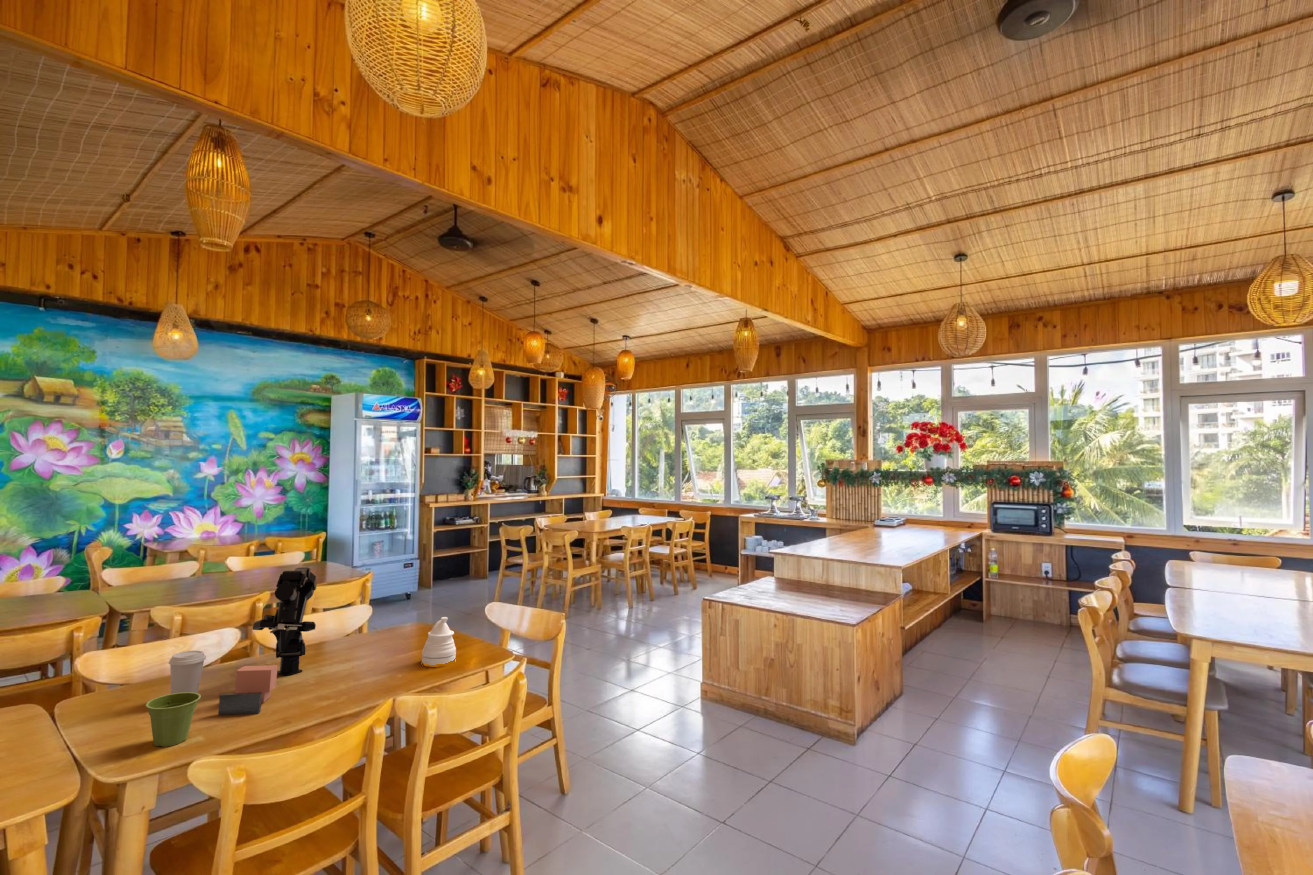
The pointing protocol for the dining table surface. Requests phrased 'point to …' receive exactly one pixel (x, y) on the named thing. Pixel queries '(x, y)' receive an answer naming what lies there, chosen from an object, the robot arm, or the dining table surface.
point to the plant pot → (172, 717)
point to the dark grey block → (240, 703)
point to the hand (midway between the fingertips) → (281, 651)
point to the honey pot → (439, 644)
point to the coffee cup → (186, 671)
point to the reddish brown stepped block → (256, 680)
